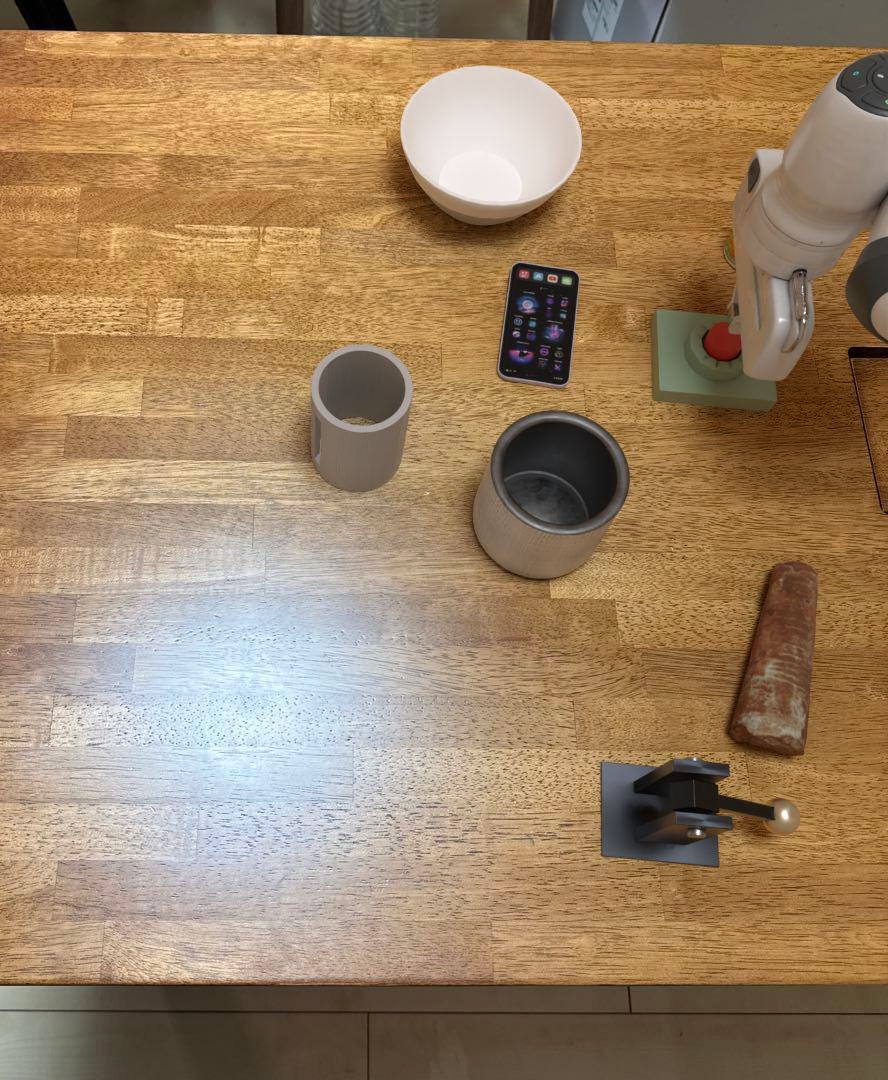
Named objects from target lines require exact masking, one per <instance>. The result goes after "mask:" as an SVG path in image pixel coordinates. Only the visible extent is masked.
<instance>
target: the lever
mask: <svg viewBox="0 0 888 1080" xmlns="http://www.w3.org/2000/svg"><path fill="white" fill-rule="evenodd" d="M670 789H671V810H674V811H680V812H691V813H701V814H713V813H717V814H719V813H720V812H721V813H727V814H731V815H735V816H740V817H745V818H750V819H754V820H758V821H762V824H763V825H764V827H765V828H766V829H767V830H768V831H769V832H770V833H772V834H774V835H777V836H789V835H792V834H793V833H795V832H796V831H797V830H798V828H799V826H800V824H801V818H802V817H801V813H800V810H799V808H798V806H797V805H796V804H795V803H794V802H793V801H791V800H790V799H787V798H783V797H774V798H771V799H769V800H767V802H765V803H764V804H763V803H759V802H755V801H751V800H746V799H741V798H737V797H733V796H728V795H724V794H720V792H719V784H717V783H715V784H713V783H709V782H705V781H700V780H696V779H688V780H681V781H674V782H670Z"/></svg>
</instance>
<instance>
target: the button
mask: <svg viewBox="0 0 888 1080" xmlns="http://www.w3.org/2000/svg"><path fill="white" fill-rule="evenodd" d="M741 348H742V346H741V335H739V334H730V333H729V330H728V322H719V323H716V324H715V325H713V326H712V328H711V329H710V331H709V332H708V334H707V336H706V337H705V339H704V349H705V351H706V352H707V354H708V355H709V356H711V357H712V358H714V359H716V360H719V361H728V360H731V359H733V358H735V357H736V355H737V354H738V353H739V351H740V350H741Z"/></svg>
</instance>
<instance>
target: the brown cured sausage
mask: <svg viewBox="0 0 888 1080" xmlns="http://www.w3.org/2000/svg"><path fill="white" fill-rule="evenodd" d="M818 584H819V575H818V573H817V572H816V570H815V569H814V568H813V567H812V566H811V565H809V564H807V563H805V562H802V561H797V560H795V561H794V560H793V561H786V562H781V563H777V564H776V565H774V566H773V567H772V569H771V576H770V581H769V585H768V589H767V593H766V597H765V599H764V603H763V606H762V609H761V613H760V616H759V622H758V625H757V628H756V633H755V635H754V636H755V637H754V640H753V643H752V648H751V651H750V652H751V653H750V658H749V661H748V666H747V667H746V668H747V669H746V672H745V675H744V679H743V681H742V685H741V689H740V693H739V697H738V700H737V704H736V707H735V711H734V715H733V718H732V722H731V727H730V730H729V734H730V737H731V739H733V740H734V741H735V742H737V743H748V744H749V745H750V746H756V747H760V748H764V749H767V750H770V751H773V752H777V753H781V754H784V755H787V756H792V757H801V756H804V755H805V749H806V743H807V737H808V727H809V717H810V705H811V684H812V674H813V669H814V668H813V667H814V654H815V643H816V631H817V630H816V628H817V610H818V597H819V595H818V594H819V585H818Z"/></svg>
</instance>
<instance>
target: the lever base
mask: <svg viewBox="0 0 888 1080" xmlns="http://www.w3.org/2000/svg"><path fill="white" fill-rule="evenodd" d="M599 763H600V764H599V766H600V768H599V769H600V771H599V772H600V779H599V781H600V856H601V857H606V858H616V859H626V860H636V861H647V862H659V863H668V864H677V865H687V866H688V865H689V866H698V867H709V868H720V851H719V835H720V834H724V833H727V832H730V831H732V830H733V831H734V824H733V823H734V821H733V816H731V815H720V814H718V813H713V814H701V813H691V812H680V811H674V810H671V789H670V782H674V781H681V780H688V779H696V780H700V781H705V782H709V783H713V784H717V783H719V782H721V781H724V780H725V779H728V778H730V777H731V770H730V763H726V762H725V763H724V762H716V761H706V760H705V761H704V760H703V758H701V757H697V756H688V757H684V758H671V759H670V760H668V761H667V762H665V763H663V764H661V765H660V766H653V765H644V764H643V765H642V764H632V763H621V762H612V761H611V762H609V761H600V762H599Z"/></svg>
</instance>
